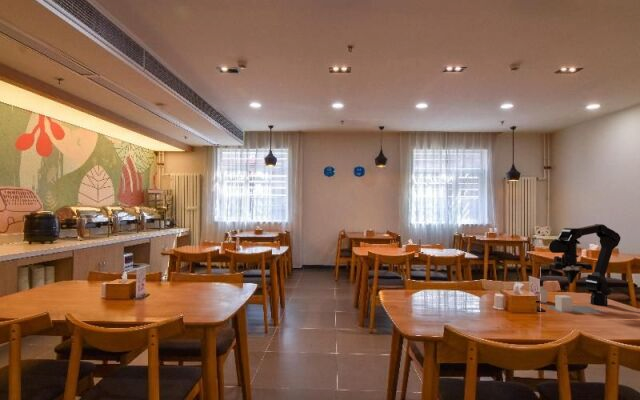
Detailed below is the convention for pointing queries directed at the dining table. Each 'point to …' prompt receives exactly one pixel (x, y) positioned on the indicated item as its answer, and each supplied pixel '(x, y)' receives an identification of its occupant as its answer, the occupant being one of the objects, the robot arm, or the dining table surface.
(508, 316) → the dining table surface
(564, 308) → the white rectangular block
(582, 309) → the board
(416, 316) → the dining table surface
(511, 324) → the dining table surface
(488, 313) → the dining table surface
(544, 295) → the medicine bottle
